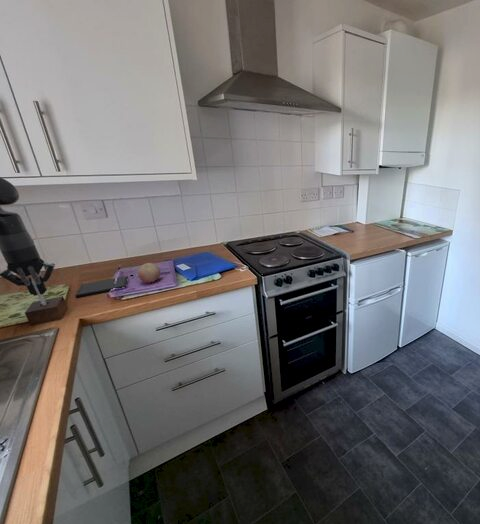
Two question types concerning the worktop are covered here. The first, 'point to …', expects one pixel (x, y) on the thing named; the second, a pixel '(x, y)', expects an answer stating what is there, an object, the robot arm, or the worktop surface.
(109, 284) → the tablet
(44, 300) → the stylus
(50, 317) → the pen holder
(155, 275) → the fruit
